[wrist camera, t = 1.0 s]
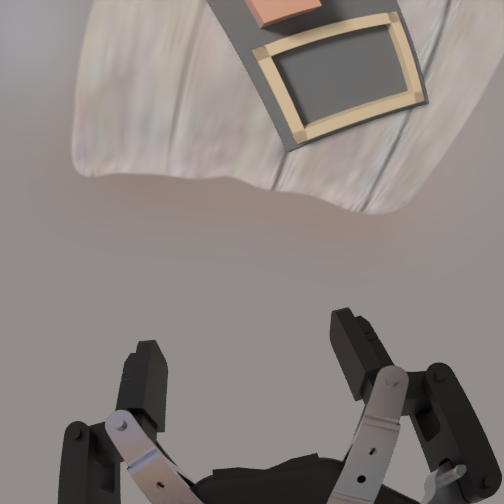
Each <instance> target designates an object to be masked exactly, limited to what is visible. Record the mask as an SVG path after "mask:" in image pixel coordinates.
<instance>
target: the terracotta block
mask: <svg viewBox="0 0 504 504" xmlns="http://www.w3.org/2000/svg"><path fill="white" fill-rule="evenodd" d="M244 1H245V3H246V5H247V6H248V8H249V10H250V12H251V13H252V15H253V17H254V18H255V20H256V22H257V24H258V26H259V27H260V28H263V27H266V26H268V25H271V24H274V23H277V22H280V21H283V20H286V19H289V18H292V17H295V16H298V15H302V14H305V13H309V12H311V11H312V10H314V9H316V8H318V7H320V6H322V5H321V3H320V1H319V0H244Z"/></svg>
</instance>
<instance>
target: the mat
mask: <svg viewBox="0 0 504 504" xmlns="http://www.w3.org/2000/svg"><path fill="white" fill-rule="evenodd" d="M206 1H207V3H208V4H209V6H210V7H211V9H212V11H213V12H214V14H215V15H216V17H217V19H218V20H219V22H220V24H221V26H222V27H223V29H224V31H225V32H226V34H227V36H228V38H229V39H230V41H231V43H232V45H233V46H234V48H235V50H236V52H237V53H238V55H239V57H240V59H241V61H242V63H243V64H244V66H245V68H246V70H247V72H248V74H249V76H250V78H251V79H252V81H253V83H254V85H255V87H256V89H257V91H258V93H259V95H260V97H261V99H262V101H263V103H264V105H265V107H266V109H267V111H268V113H269V115H270V117H271V119H272V121H273V123H274V125H275V128H276V130H277V132H278V134H279V136H280V138H281V140H282V142H283V145H284V147H285V149H286V151H287V152H288V151H290V150H293V149H295V148H298V147H300V146H303V145H305V144H308V143H310V142H313V141H315V140H318V139H320V138H323V137H326V136H328V135H331V134H334V133H336V132H339V131H342V130H344V129H347V128H350V127H353V126H356V125H359V124H361V123H364V122H367V121H370V120H373V119H376V118H379V117H382V116H385V115H389V114H392V113H395V112H398V111H401V110H405V109H408V108H411V107H415V106H418V105H422V104H425V103H429V102H428V98H427V93H426V89H425V85H424V81H423V77H422V73H421V70H420V66H419V63H418V59H417V56H416V53H415V50H414V46H413V43H412V40H411V38H410V35H409V32H408V29H407V27H406V24H405V21H404V19H403V16H402V14H401V11H400V9H399V7H398V4H397V2H396V0H319V1H320V3H321V5H322V6H320V7H318V8H316V9H314V10H312V11H311V12H309V13H305V14H302V15H298V16H295V17H292V18H289V19H286V20H283V21H280V22H277V23H274V24H271V25H268V26H266V27H263V28H260V27H259V26H258V24H257V22H256V20H255V18H254V17H253V15H252V13H251V12H250V10H249V8H248V6H247V5H246V3H245V1H244V0H206Z"/></svg>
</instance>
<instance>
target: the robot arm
mask: <svg viewBox="0 0 504 504" xmlns="http://www.w3.org/2000/svg"><path fill="white" fill-rule="evenodd" d="M330 341H331V345H332V347H333V350H334V352H335V354H336V356H337V359H338V361H339V364H340V366H341V368H342V371H343V373H344V375H345V378H346V380H347V382H348V385H349V387H350V390H351V392H352V394H353V397H354V399H355V401H358V400H361V399H363V401H364V403H365V406H364V409H363V412H362V414H361V417H360V420H359V423H358V425H357V428H356V430H355V433H354V435H353V438H352V440H351V443H350V444H349V447H348V449H347V451H346V453H345V455H344V458H343V460H342V461H340V460H336V459H331V458H319V457H318V454H317V453H315V454H311V455H307V456H302V457H298V458H293V459H290V460H288V461H286V462H284V463H281V464H279V465H277V466H274V467H272V468H269V469H266V470H261V469H248V468H239V467H238V468H227V469H215V470H213V475H210V476H208V477H206V478H203V479H202V480H200V481H198V482H197V483H195V482H194V481H193V480H192V479H191V478H190V477H189V476H188V475H187V474H186V473H185V472H184V471H183V470H182V469H181V468H180V467H179V466H178V465H177V464H176V463H175V461H174V460H173V459H172V458H171V457H170V456H169V455H168V453H167V452H166V451H165V450H164V449H163V447H162V446H161V445H160V443H159V442H158V441H157V440H156V439H157V432H165V411H166V394H167V378H168V366H167V362H166V360H165V358H164V356H163V354H162V352H161V350H160V348H159V346H158V344H157V342H156V341H155V340H148V341H139V342H138V345H137V350H136V353H130V355H129V356H128V358H127V359H126V361H125V363H124V368H123V374H122V378H121V380H122V381H121V383H120V388H119V394H118V399H117V405H116V410H115V411H114V412H112V413H111V414H110V415H109V416H108V417H107V419H106V421H105V422H102V423H98V424H95V425H91V426H87V425H86V424H85V423H83V422H80V421H75V422H73V423H71V424H70V425H69V426H68V427H67V428H66V430H65V434H64V441H63V449H62V456H61V466H60V476H59V491H58V504H121V501H120V500H121V499H120V462H123V461H125V462H126V463H127V465H128V468H127V470H128V472H129V474H130V475H131V477H132V478H133V480H134V481H135V483H136V484H137V485H138V487H139V488H140V489H141V491H142V492H143V493H144V495H145V496H146V497H147V498H148V500H149V501H150V502H151V503H152V504H474V503H477V502H479V501H481V500H484V499H486V498H488V497H491V496H492V495H494V494H495V493H496V492H497V490H498V489H499V487H500V485H501V481H502V474H501V471H500V468H499V466H498V463H497V460H496V458H495V456H494V453H493V451H492V448H491V446H490V444H489V442H488V439H487V437H486V435H485V432H484V430H483V428H482V426H481V424H480V422H479V420H478V418H477V416H476V414H475V412H474V410H473V408H472V406H471V404H470V402H469V400H468V398H467V396H466V394H465V392H464V390H463V389H462V387H461V385H460V383H459V381H458V379H457V378H456V376H455V374H454V372H453V371H452V369H451V368H450V367H449V366H448V365H446V364H444V363H434V364H432V365H430V366H429V367H428V369H427V371H420V372H405V370H404V369H402V368H400V367H398V366H395V365H394V364H393V362H392V360H391V358H390V357H389V355H388V353H387V351H386V350H385V348H384V346H383V345H382V343H381V341H380V340H379V339H378V336H377V334H376V333H375V332H374V329H373V328H372V326H371V324H370V323H369V322H368V321H367V320H366V319H364V318H363V317H362V316H358V317H354V315H353V314H352V312H351V310H350V309H349V308H348V307H347V308H343V309H339V310H334V311H332V314H331V324H330ZM405 415H409V416H410V418H411V421H412V423H413V426H414V428H415V431H416V434H417V436H418V439H419V441H420V444H421V447H422V449H423V452H424V455H425V458H426V460H427V463H428V466H429V469H430V472H431V473H430V474H429V475H428V477H427V478H426V480H425V484H424V488H425V496H424V499H423V501H422V502H421V503H419V502H418V501H416V500H414V499H411V498H409V497H407V496H405V495H403V494H401V493H399V492H397V491H395V490H393V489H391V488H389V487H387V486H385V485H384V484H382V482H383V479H384V477H385V474H386V471H387V469H388V466H389V463H390V460H391V457H392V454H393V451H394V448H395V445H396V442H397V438H398V435H399V431H400V424H399V420H400V417H401V416H405Z"/></svg>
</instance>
